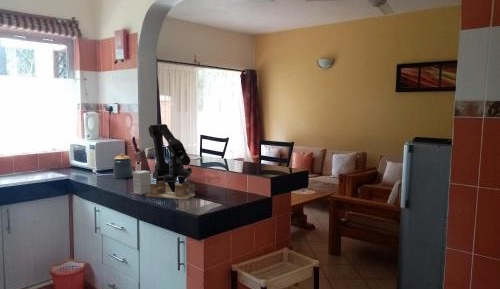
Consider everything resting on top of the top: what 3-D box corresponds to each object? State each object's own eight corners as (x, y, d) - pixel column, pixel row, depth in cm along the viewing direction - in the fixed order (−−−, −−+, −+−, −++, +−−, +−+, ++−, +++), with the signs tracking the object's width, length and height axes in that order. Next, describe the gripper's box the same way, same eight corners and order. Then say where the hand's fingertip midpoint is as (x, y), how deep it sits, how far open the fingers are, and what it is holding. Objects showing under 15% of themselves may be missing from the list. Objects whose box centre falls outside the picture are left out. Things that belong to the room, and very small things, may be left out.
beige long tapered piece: (155, 192, 217) (155, 180, 217) (195, 195, 209) (194, 183, 208) (145, 196, 208) (144, 184, 207) (186, 199, 199) (185, 186, 199)
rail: (164, 191, 221) (164, 182, 220) (194, 193, 214) (194, 184, 214) (161, 192, 218) (161, 184, 217) (191, 194, 211) (191, 185, 210)
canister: (128, 178, 264) (127, 154, 262) (110, 178, 264) (109, 154, 262) (134, 175, 277) (133, 151, 275) (117, 175, 277) (116, 152, 275)
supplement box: (144, 191, 222) (143, 170, 221) (151, 192, 218) (150, 171, 216) (133, 193, 217) (132, 171, 215) (140, 194, 212) (139, 173, 211)
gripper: (180, 166, 203) (181, 194, 204) (196, 162, 220) (197, 188, 222) (163, 166, 207) (164, 193, 208) (180, 161, 224) (181, 187, 226)
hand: (177, 190), depth 216 cm, fingers open, 9 cm apart
